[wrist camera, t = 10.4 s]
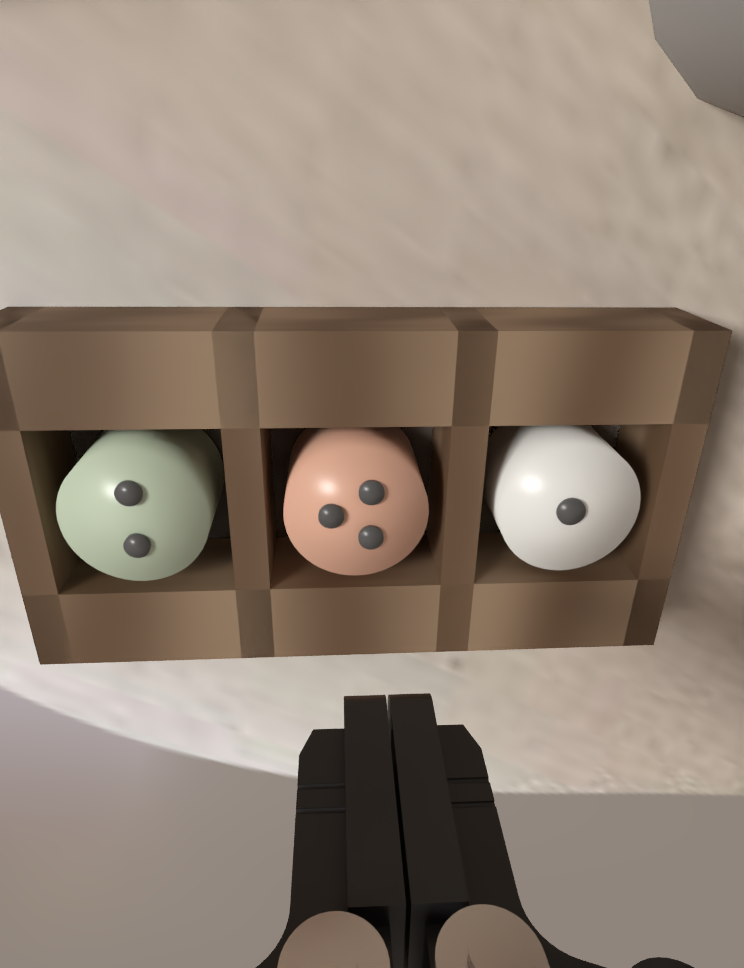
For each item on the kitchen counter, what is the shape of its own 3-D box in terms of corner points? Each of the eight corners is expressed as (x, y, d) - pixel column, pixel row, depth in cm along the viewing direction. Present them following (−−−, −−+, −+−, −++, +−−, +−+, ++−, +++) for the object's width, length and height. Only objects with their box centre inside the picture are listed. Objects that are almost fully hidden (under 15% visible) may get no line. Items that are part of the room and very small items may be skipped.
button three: (418, 408, 20) (433, 448, 17) (413, 523, 22) (426, 576, 19) (285, 409, 20) (279, 450, 17) (291, 525, 22) (286, 580, 19)
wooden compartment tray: (675, 307, 19) (732, 330, 17) (616, 590, 24) (653, 644, 21) (7, 306, 18) (-48, 331, 16) (74, 604, 23) (40, 664, 20)
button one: (610, 406, 20) (656, 445, 18) (589, 519, 22) (628, 571, 19) (482, 407, 20) (508, 447, 17) (472, 522, 22) (494, 574, 19)
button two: (218, 410, 20) (200, 451, 17) (229, 527, 21) (214, 582, 19) (81, 411, 19) (39, 453, 17) (103, 529, 21) (69, 585, 18)
